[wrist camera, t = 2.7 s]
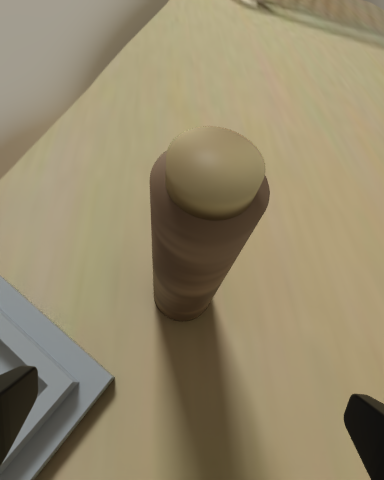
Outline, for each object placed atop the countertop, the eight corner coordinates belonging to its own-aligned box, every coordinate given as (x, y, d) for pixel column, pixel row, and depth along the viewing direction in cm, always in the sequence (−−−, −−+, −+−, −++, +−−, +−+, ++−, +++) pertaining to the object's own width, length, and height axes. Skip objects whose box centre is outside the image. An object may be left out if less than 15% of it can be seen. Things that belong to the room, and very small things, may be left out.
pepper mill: (220, 287, 24) (302, 157, 10) (188, 333, 21) (238, 243, 8) (177, 256, 25) (200, 100, 11) (141, 296, 22) (119, 163, 9)
